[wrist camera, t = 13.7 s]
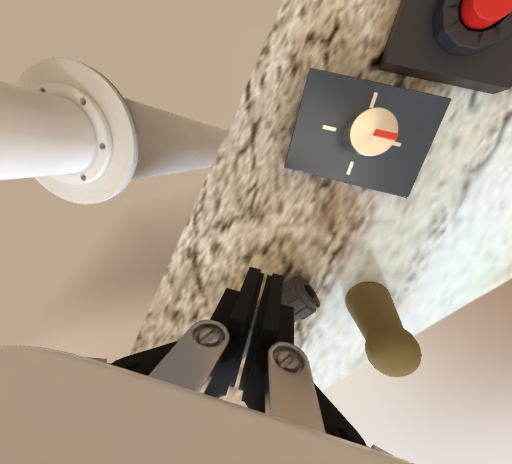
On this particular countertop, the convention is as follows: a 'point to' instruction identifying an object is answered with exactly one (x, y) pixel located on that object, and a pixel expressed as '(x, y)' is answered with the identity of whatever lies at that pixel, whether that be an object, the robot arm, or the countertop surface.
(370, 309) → the cork
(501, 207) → the countertop surface
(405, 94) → the control panel
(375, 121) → the dial
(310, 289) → the flashlight
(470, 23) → the power button
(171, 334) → the countertop surface
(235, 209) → the countertop surface
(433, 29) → the switch block
